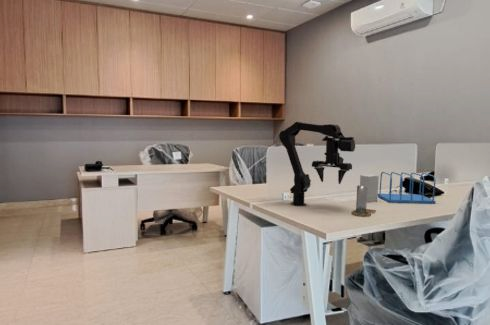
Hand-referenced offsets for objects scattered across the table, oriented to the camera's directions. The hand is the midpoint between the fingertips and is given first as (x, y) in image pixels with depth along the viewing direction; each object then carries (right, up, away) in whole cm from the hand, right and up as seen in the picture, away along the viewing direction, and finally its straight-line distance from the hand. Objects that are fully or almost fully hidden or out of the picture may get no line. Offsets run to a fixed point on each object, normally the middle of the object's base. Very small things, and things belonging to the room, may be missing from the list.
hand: (330, 182), depth 169 cm
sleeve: (+11, -14, -10) cm, 21 cm away
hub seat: (+11, -14, -11) cm, 21 cm away
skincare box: (+25, -12, +20) cm, 34 cm away
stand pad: (+16, -14, -3) cm, 21 cm away
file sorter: (+49, -12, +27) cm, 57 cm away
